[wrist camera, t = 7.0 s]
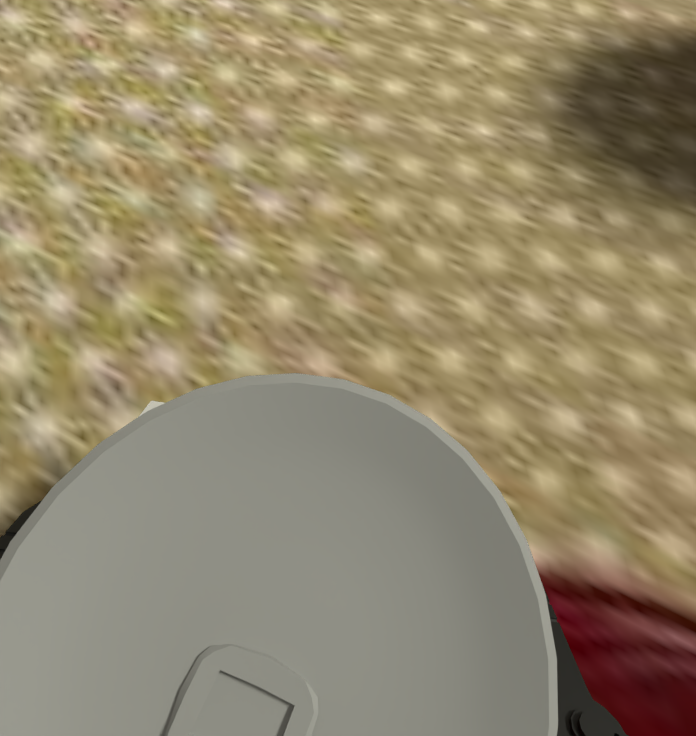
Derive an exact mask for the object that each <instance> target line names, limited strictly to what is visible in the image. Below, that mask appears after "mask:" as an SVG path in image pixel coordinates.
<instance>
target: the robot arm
mask: <svg viewBox="0 0 696 736" xmlns="http://www.w3.org/2000/svg"><path fill="white" fill-rule="evenodd" d="M162 404H164V403H163V402H156V401H151V402H150V403H149V404H148V406H147V407H146V408H145V409H144V411H143V412H142V413H141V415H142V414H144V413H145V412H147V411H149V410H151V409H153V408H155V407H158V406H160V405H162ZM141 415H140V416H141ZM40 503H41V501H40V502H39V503H37V504H35V505H34V506H32V507H31V508H29V509H28V510H26V511H24V512H23V513H22V514H21V515H20V516H19V517H18V519H17V520H16V521H15V522H14V523H13V524H12V525H11V526H10V527H9V529H8V530H7V531H6V534H5V535H4V536H3V535H2V536H1V538H0V560H1V558H2V556H3V554H4V552H5V551H6V549H7V547H8V545H9V543H10V541H11V540H12V539H13V538H14V536H15V535H16V534H17V532H18V531H19V530H20V529H21V527H22V526H23V525H24V523H25V522H26V521H27V519H28V518H29V517H30V516H31V514H32V513H33V512H34V510H35V509H36V508H37V507H38V505H39V504H40ZM542 586H543V585H542ZM543 588H544V587H543ZM544 591H545V589H544ZM545 594H546V592H545ZM546 599H547V604H548V610H549V616H550V621H551V627H552V633H553V639H554V644H555V650H556V656H557V692H558V730H557V736H628V735H626V734H625V732H624V731H623V729H622V727H621V726H620V724H619V723H618V721H617V720H616V719H615V718H614V717H613V716H612V715H611V714H610V713H609V712H608V711H607V710H606V709H605V708H604V707H603V706H601V705H600V704H598V703H597V702H595V701H594V700H593V699H592V697H591V695H590V693H589V691H588V689H587V687H586V685H585V682H584V680H583V678H582V675H581V673H580V671H579V668H578V666H577V664H576V662H575V659H574V657H573V655H572V652H571V650H570V648H569V645H568V643H567V641H566V638H565V636H564V634H563V631H562V629H561V627H560V624H559V623H557V617H556V615H555V613H554V610H553V608H552V606H551V605H550V604H549V599H548V596H547V594H546Z"/></svg>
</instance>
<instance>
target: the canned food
mask: <svg viewBox="0 0 696 736" xmlns="http://www.w3.org/2000/svg"><path fill="white" fill-rule="evenodd" d="M557 730H558V692H557V656H556V650H555V644H554V639H553V633H552V627H551V621H550V616H549V610H548V604H547V599H546V594H545V591H544V588H543V586H542V583H541V580H540V577H539V574H538V571H537V568H536V565H535V562H534V560H533V557H532V554H531V551H530V548H529V545H528V542H527V540H526V538H525V536H524V534H523V532H522V530H521V529H520V527H519V525H518V523H517V521H516V519H515V518H514V516H513V514H512V512H511V510H510V508H509V507H508V505H507V503H506V501H505V499H504V497H503V496H502V494H501V492H500V491H499V489H498V488H497V487H496V486H495V484H494V483H493V482H492V481H491V479H490V478H489V477H488V476H487V474H486V473H485V472H484V471H483V469H482V468H481V467H480V465H479V464H478V463H477V462H476V460H475V459H474V458H473V457H472V455H471V454H470V453H469V452H468V451H467V450H466V449H465V448H464V447H463V446H462V445H460V444H459V443H458V442H457V441H456V440H455V439H453V438H452V437H451V436H450V435H449V434H448V433H447V432H445V431H444V430H443V429H442V428H441V427H440V426H438V425H437V424H436V423H435V422H434V421H433V420H431V419H430V418H428V417H427V416H425V415H423V414H422V413H420V412H418V411H416V410H415V409H413V408H411V407H409V406H408V405H406V404H404V403H402V402H401V401H399V400H397V399H396V398H394V397H392V396H390V395H388V394H385V393H382V392H379V391H376V390H374V389H371V388H368V387H365V386H362V385H359V384H356V383H353V382H350V381H347V380H344V379H337V378H329V377H322V376H314V375H307V374H299V373H291V374H274V375H257V376H246V377H242V378H238V379H234V380H230V381H226V382H222V383H218V384H214V385H210V386H206V387H202V388H198V389H195V390H193V391H191V392H189V393H187V394H184V395H182V396H180V397H178V398H175V399H173V400H171V401H169V402H167V403H164V404H162V405H160V406H158V407H155V408H153V409H151V410H149V411H147V412H145V413H144V414H142V415H141V416H139V417H138V418H136V419H135V420H133V421H132V422H130V423H129V424H127V425H126V426H124V427H123V428H122V429H120V430H119V431H117V432H116V433H114V434H113V435H111V436H110V437H108V438H107V439H105V440H104V441H102V442H101V443H99V444H98V445H97V446H96V447H95V448H94V449H93V450H92V451H90V452H89V453H88V454H87V455H86V456H85V457H84V458H83V459H82V460H81V461H80V462H79V463H78V464H77V465H76V466H75V467H73V468H72V469H71V470H70V471H69V472H68V473H67V474H66V475H65V476H64V477H63V478H62V479H61V480H60V481H59V482H58V483H56V484H55V485H54V486H53V487H52V488H51V490H50V491H49V492H48V494H47V495H46V496H45V497H44V499H43V500H42V501H41V503H40V504H39V505H38V507H37V508H36V509H35V510H34V512H33V513H32V514H31V516H30V517H29V518H28V519H27V521H26V522H25V523H24V525H23V526H22V527H21V529H20V530H19V531H18V532H17V534H16V535H15V536H14V538H13V539H12V540H11V541H10V543H9V545H8V547H7V549H6V551H5V552H4V554H3V556H2V558H1V560H0V736H557Z"/></svg>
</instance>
